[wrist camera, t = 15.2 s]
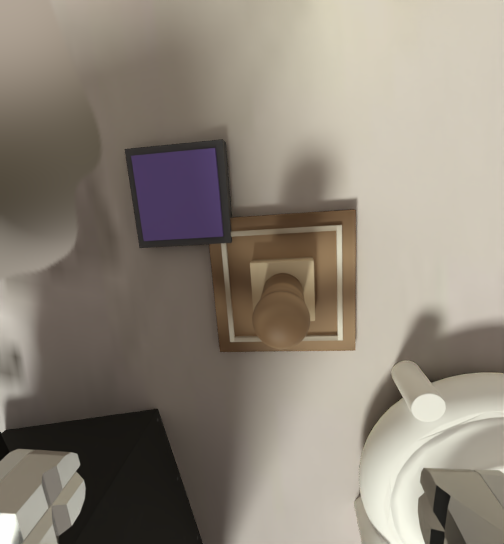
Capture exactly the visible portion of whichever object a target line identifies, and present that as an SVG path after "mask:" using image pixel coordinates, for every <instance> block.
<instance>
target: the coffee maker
mask: <svg viewBox="0 0 504 544" xmlns="http://www.w3.org/2000/svg"><path fill="white" fill-rule="evenodd" d="M17 449H29V450H48V451H61V452H72V453H76V454H78V458H79V461H80V467H79V468H78V470H77V473H78V474H79V475H80V476H81V477H82V478H83V479H84V483H85V488H86V489H85V499H84V502H83V505H82V508H81V511H80V514H79V515H78V517H77V518H76V520H75V522H74V523H73V525H72V526H71V527H70V528H68V529H67V530H66V531H65V532H63V533H62V534H61V535H59V544H203V543H202V540H201V537H200V534H199V531H198V528H197V525H196V522H195V519H194V516H193V513H192V510H191V507H190V504H189V501H188V498H187V495H186V492H185V489H184V486H183V483H182V480H181V477H180V474H179V471H178V468H177V465H176V462H175V459H174V456H173V453H172V450H171V447H170V444H169V441H168V438H167V435H166V432H165V429H164V426H163V423H162V421H161V418H160V415H159V412H158V409H154V410H147V411H140V412H132V413H125V414H118V415H111V416H104V417H97V418H90V419H83V420H76V421H68V422H61V423H54V424H47V425H40V426H33V427H26V428H19V429H12V430H5V431H4V432H3V433H2V434H1V432H0V461H1V460H2V459H3V458H4V457H5V456H6V455H7V454H9V453H10V452H12V451H14V450H17Z"/></svg>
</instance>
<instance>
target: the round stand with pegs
mask: <svg viewBox="0 0 504 544" xmlns="http://www.w3.org/2000/svg"><path fill="white" fill-rule="evenodd" d="M391 376H392V379H393V380H394V382H395V384H396V386H397V387H398V389H399V391H400V393H401V395H402V396H403V398H402V399H400V400H399V401H398V402H397V403H395V404H394V405H393V406H391V407H390V408H389V409H388V410H387V411H386V412H385V413H384V415H383V416H382V417H381V418H380V419H379V420H378V422H377V423H376V424H375V426H374V427H373V429H372V431H371V432H370V434H369V436H368V438H367V440H366V443H365V445H364V448H363V451H362V455H361V460H360V465H359V486H360V493H361V496H360V497H358V498H357V499H356V500H355V502H354V508H355V513H356V518H357V523H358V527H359V532H360V537H361V542H362V544H425V542H424V539H423V536H422V532H421V529H420V524H419V517H418V498H419V497H420V496H421V495H422V494H423V493H424V490H423V488H422V485H421V483H420V477H421V472H422V470H423V468H445V469H470V470H500V471H501V472H502V473H504V373H493V372H480V373H470V374H462V375H457V376H452V377H448V378H444V379H441V380H438V381H435V382H432V383H431V382H430V381H429V379H428V378H427V377H426V375H425V374H424V373H423V372H422V370H421V369H420V368H419V366H418V365H417V364H416V363H414V362H412V361H401V362H398V363H397V364H395V365H394V367H393V368H392V371H391Z"/></svg>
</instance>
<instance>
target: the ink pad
mask: <svg viewBox="0 0 504 544" xmlns="http://www.w3.org/2000/svg"><path fill="white" fill-rule="evenodd" d="M125 154H126V161H127V167H128V174H129V181H130V187H131V194H132V200H133V207H134V214H135V220H136V227H137V233H138V240H139V247H140V248H148V247H166V246H184V245H202V244H220V243H232V237H231V222H230V218H232V213H231V201H230V189H229V177H228V165H227V153H226V142H225V141H224V140H212V141H202V142H192V143H182V144H172V145H162V146H151V147H141V148H131V149H125Z"/></svg>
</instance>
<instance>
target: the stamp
mask: <svg viewBox="0 0 504 544" xmlns="http://www.w3.org/2000/svg"><path fill="white" fill-rule="evenodd" d="M250 272H251V286H252V300H253V317H252V322H253V327H254V330H255V333H256V334H257V336H258V337H259V339H260V340H261V341H262V342H263V343H265V344H266V345H268V346H270V347H272V348H276V349H287V348H291V347H294V346H296V345H297V344H299V343H300V342H301V341H302V340H303V339H304V338H305V336H306V335H307V333H308V330H309V328H310V321H315V292H314V260H313V257H301V258H279V259H257V260H252V261H251V262H250Z"/></svg>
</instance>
